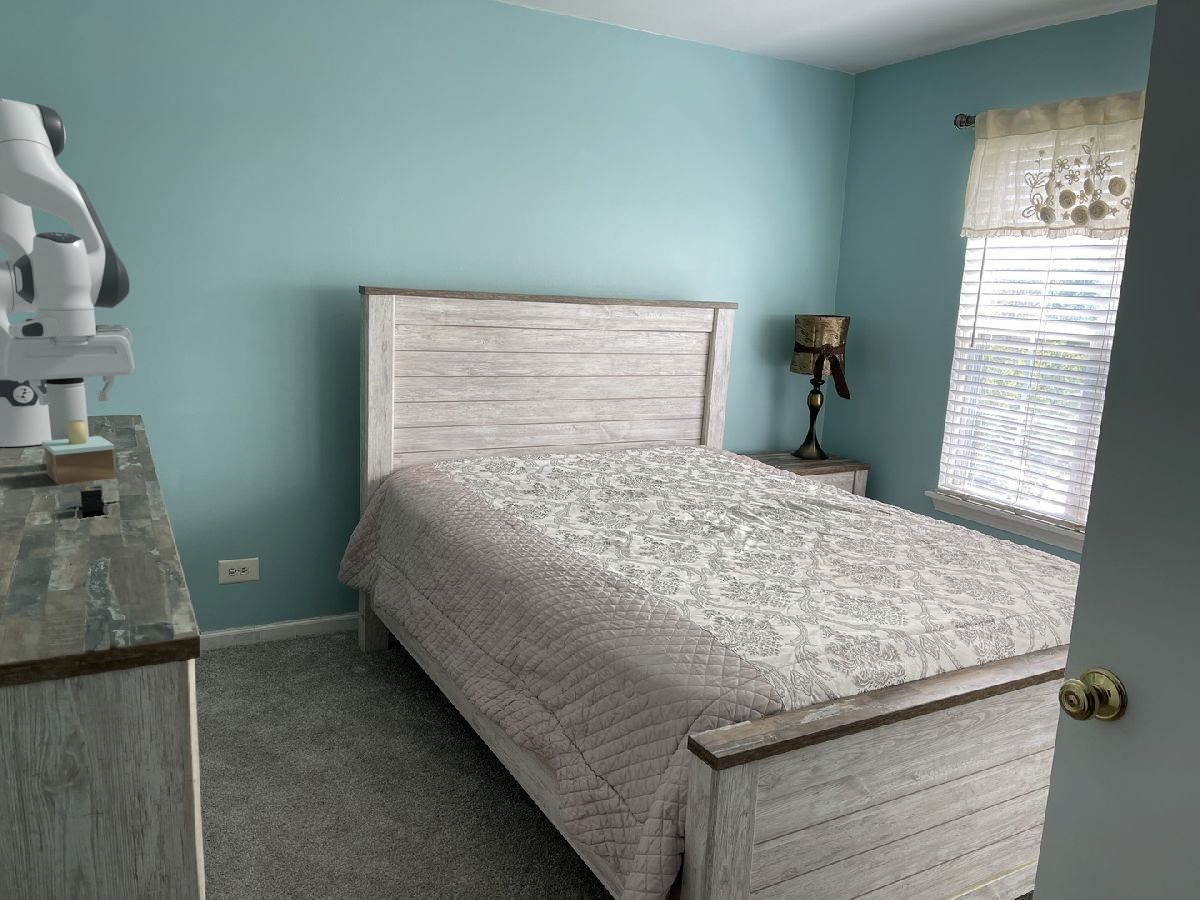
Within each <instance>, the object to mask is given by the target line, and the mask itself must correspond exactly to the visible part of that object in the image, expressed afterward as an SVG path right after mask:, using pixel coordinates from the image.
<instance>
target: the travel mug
mask: <svg viewBox="0 0 1200 900" xmlns="http://www.w3.org/2000/svg"><path fill="white" fill-rule="evenodd" d="M84 384H85V381H84V377H81V378H62V379H47V380H46V385H47V394H48V395H49V396H50V399H49V401H50V405H48V408H49V419H50V429H51V439H52V440H60V439H69V438H68V427H67V422H68V421H73V420H84V421H85V430H86V437H90V435H89V423H88V411H87V403H86V402H87V398H86V390H85V385H84Z"/></svg>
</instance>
